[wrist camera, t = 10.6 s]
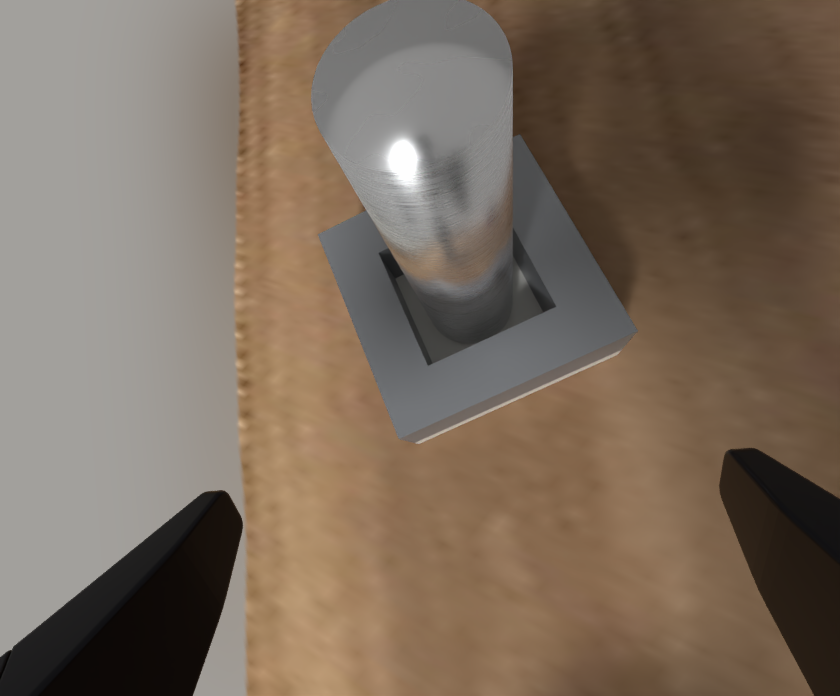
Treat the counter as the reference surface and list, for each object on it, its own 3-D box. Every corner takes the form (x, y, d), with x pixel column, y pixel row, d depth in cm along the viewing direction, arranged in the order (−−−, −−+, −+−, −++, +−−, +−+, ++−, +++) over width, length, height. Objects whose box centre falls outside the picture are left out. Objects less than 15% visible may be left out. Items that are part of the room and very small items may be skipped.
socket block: (419, 444, 23) (398, 439, 19) (347, 269, 26) (317, 234, 22) (617, 355, 22) (638, 330, 18) (519, 185, 25) (519, 134, 21)
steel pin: (468, 361, 22) (399, 211, 9) (411, 303, 23) (273, 92, 10) (531, 302, 22) (559, 62, 9) (471, 247, 23) (415, -38, 10)
